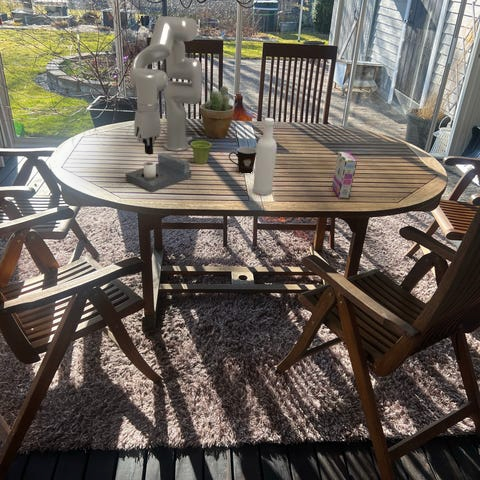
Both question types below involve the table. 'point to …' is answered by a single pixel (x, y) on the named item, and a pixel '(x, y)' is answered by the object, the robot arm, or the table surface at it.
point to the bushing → (149, 170)
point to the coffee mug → (245, 159)
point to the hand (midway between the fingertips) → (149, 153)
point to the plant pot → (200, 151)
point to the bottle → (265, 160)
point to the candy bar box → (344, 174)
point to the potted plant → (217, 114)
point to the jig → (162, 173)
